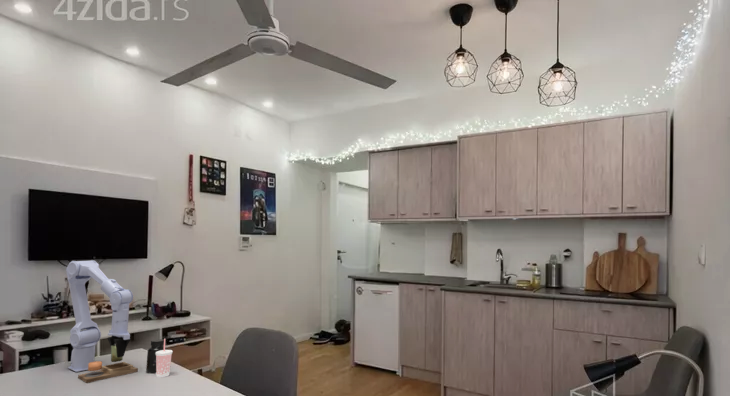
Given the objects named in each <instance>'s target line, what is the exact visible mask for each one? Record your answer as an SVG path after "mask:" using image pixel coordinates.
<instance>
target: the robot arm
mask: <svg viewBox="0 0 730 396" xmlns="http://www.w3.org/2000/svg"><path fill="white" fill-rule="evenodd" d="M65 271H66V273H65V274H66V278H67V282H68V285H69V286H68V287H69V292H70V298H71V303H72V309H73V315H74V320H75V325H74V326H73V327H72V328H71V329H70V330H69V333H70V334H69V335H70V337H69V343H70V345H71V347H72V350H71V354H70V355H71V356H70V366H67V369H69V370H71V371H74V372H75V373H78V372H83V371H88V364H89V363H90V362H95V359H96V358H95V355H96V346H97V345H98V342H99V341H100V339H101V338H102V333H101V330H100V328H99V326H98V323H97V322H95V321H93V320H92V317H91V312H90V311H91V310H90V307H89V301H88V300H89V299H88V295H87V289H86V283H87V282H88V281H90V279H93V280H94V281H95V282H96V283H98V284H99V285H100V290H101V291H102V292H103V293H104V294H105V295H106V296H107V297H108V299H109V304H110V305H111V307H110V308H111V310H112V312H111V313H112V315H111V317H112V318H111V329H109V330H108V333H107V336H108V337H107V340H108V343H109V346H110V347H111V345H114V344H116V349H117V357H123V358H124V356H125V353H126V351H127V347H128V346H129V343H130V342H131V338H130V337H131V334H130V333H129V330H128V329H129V317H130V316H129V314H130V313H129V312H130V304H131V303H132V302H133V300H134V293H133V291H132V290H131V289H126V288H124V286H121V285H120V284H119V283H118V282H117V280H116V279H114V278H108V277H107V275H106V274H105V273H104V272H103V271H102V270H101V269H100V263H98V262H97V261H96V260H93V259H91V260H77V261H76V260H72V261H70V262H69V264H67V267H66V268H65Z"/></svg>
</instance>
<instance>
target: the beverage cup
mask: <svg viewBox="0 0 730 396" xmlns="http://www.w3.org/2000/svg"><path fill="white" fill-rule="evenodd" d="M163 340H164V345H163V346H164V350H160V351H157V352H156V373H155V376H156V378H165V377H168V376H170V372H171V363H172V354H173V352H174V351H173V350H172V349H166V350H165V348H166V338H164V339H163Z"/></svg>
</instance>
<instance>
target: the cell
mask: <svg viewBox="0 0 730 396" xmlns="http://www.w3.org/2000/svg"><path fill="white" fill-rule="evenodd" d="M123 358H124V356H123V357H117V349H116V344H114V345H111V346H110V362H111V363H119V362H122V361H123V360H124V359H123Z"/></svg>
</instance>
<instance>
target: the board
mask: <svg viewBox="0 0 730 396" xmlns="http://www.w3.org/2000/svg"><path fill="white" fill-rule="evenodd" d="M138 371H139V368H138V367H135V366H134V365H133V364H131V363H128V362H126V361H119V362H114V363H112V364H111V363H110V364H105V365H102V369H100V370H97V371H89V372H86V373H82V374H78V376H77V379H78V380H80V381H83V382H85V383H86V384H88V383H94V382H98V381H102V380H108V379H111V378H115V377H120V376H125V375H128V374H129V375H130V374H133V373H134V374H135V373H137V372H138Z"/></svg>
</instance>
